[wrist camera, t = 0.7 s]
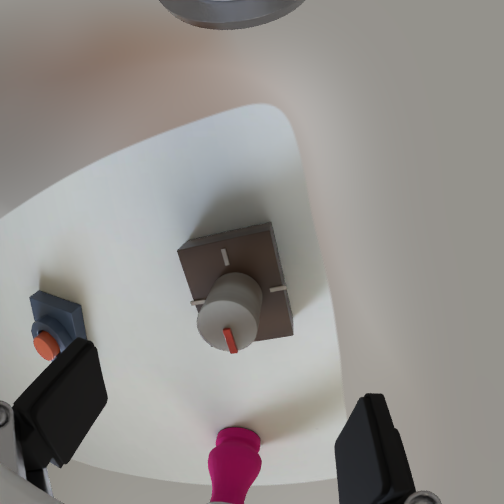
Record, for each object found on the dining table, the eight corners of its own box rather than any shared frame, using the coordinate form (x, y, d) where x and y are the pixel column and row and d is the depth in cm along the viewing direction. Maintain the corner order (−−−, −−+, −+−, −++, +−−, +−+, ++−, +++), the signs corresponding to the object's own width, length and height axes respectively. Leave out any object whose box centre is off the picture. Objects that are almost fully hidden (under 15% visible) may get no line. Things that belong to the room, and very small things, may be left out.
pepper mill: (272, 445, 36) (261, 564, 17) (231, 453, 38) (209, 561, 19) (247, 420, 34) (224, 554, 16) (204, 429, 36) (170, 548, 17)
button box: (38, 290, 32) (20, 302, 28) (81, 304, 31) (63, 320, 28) (52, 347, 35) (37, 362, 31) (92, 364, 35) (78, 381, 31)
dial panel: (184, 241, 27) (172, 251, 24) (274, 221, 26) (273, 229, 23) (214, 330, 30) (207, 348, 27) (295, 318, 29) (296, 335, 26)
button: (38, 327, 29) (30, 333, 28) (57, 335, 29) (49, 342, 27) (44, 348, 30) (37, 355, 29) (62, 357, 30) (55, 364, 29)
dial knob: (205, 277, 25) (187, 307, 20) (255, 267, 24) (248, 297, 19) (219, 320, 26) (206, 356, 21) (267, 313, 25) (263, 350, 20)
